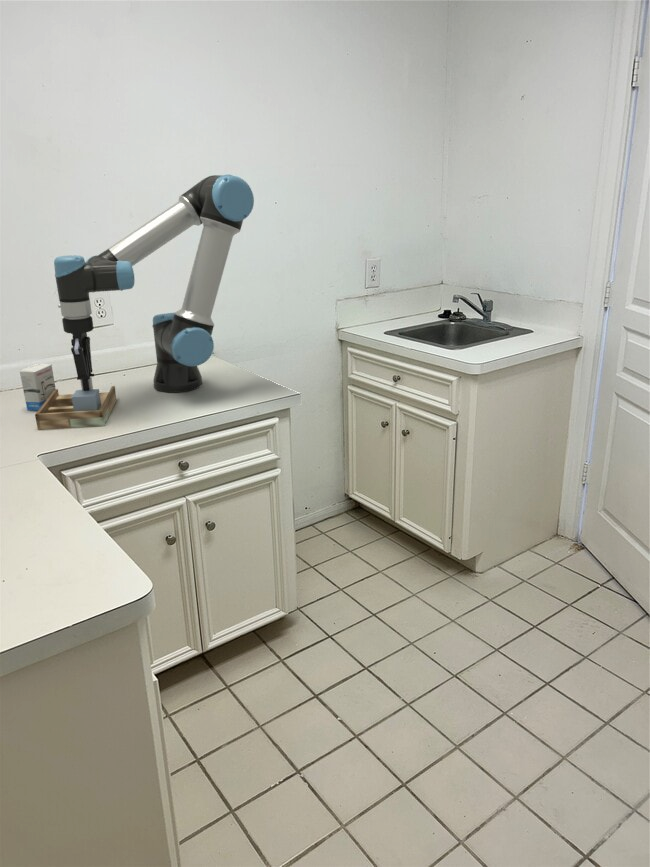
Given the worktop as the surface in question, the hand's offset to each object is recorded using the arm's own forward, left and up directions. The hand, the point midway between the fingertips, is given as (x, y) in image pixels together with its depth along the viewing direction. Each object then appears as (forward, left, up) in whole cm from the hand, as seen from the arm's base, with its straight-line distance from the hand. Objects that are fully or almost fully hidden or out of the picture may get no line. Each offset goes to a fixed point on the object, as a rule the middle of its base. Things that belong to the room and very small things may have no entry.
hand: (89, 400), depth 179 cm
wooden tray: (+3, -1, -4) cm, 5 cm away
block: (0, +4, -2) cm, 4 cm away
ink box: (+15, -10, -4) cm, 19 cm away
